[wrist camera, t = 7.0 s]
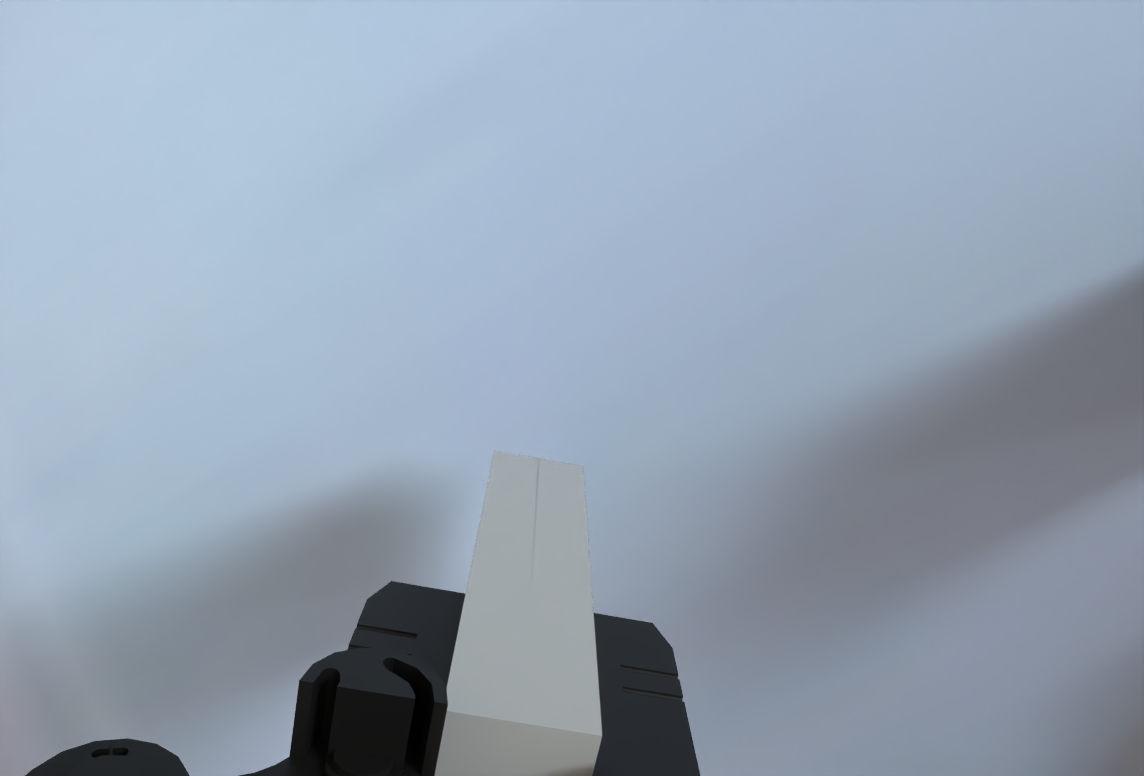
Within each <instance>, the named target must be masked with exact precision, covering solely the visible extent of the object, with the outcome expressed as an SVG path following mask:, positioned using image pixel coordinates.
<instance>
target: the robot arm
mask: <svg viewBox="0 0 1144 776" xmlns="http://www.w3.org/2000/svg"><path fill="white" fill-rule="evenodd" d="M682 698H683V694H682V690H681V685H680V681H679V680H678V671H677V667H676V662H675V658H674V653H673V649H672V647H671V646H670V644H669V643H668V642H667V641H666V639H665V638H664V637H663V636H662V634H661V633H660V632H659V631H658V629H657V628H656V627H655V626H654V624H653V623H649V622H643V621H637V620H631V619H625V618H620V617H614V616H608V615H602V614H596V613H594V612H593V598H592V584H591V570H590V556H589V542H588V528H587V514H586V499H585V485H584V471H583V467H582V466H577V465H572V464H566V463H561V462H555V461H550V460H544V459H539V458H534V457H528V456H523V455H517V454H512V453H506V452H501V451H496V450H494V454H493V459H492V464H491V469H490V474H489V479H488V484H487V489H486V494H485V499H484V504H483V509H482V514H481V519H480V524H479V529H478V534H477V539H476V544H475V549H474V554H473V559H472V564H471V569H470V574H469V579H468V584H467V589H466V594H463V593H457V592H452V591H446V590H440V589H434V588H428V587H422V586H417V585H411V584H405V583H399V582H393V581H391V582H390V583H388V584H387V585H386V586H384V587H383V588H382V589H380V590H379V591H378V592H376V593H375V594H374V595H372V596H371V597H370V598H368V599H367V601H366V604H365V606H364V609H363V611H362V614H361V616H360V619H359V621H358V624H357V628H356V629H355V631H354V633H353V636H352V638H351V641H350V643H349V647H348V650H346V651H341V652H336V653H333V654H331V655H329V656H327V657H326V658H324V659H322V660H320V661H318V662H316V663H314V664H313V665H312V666H311V667H310V668H309V670H308V671H307V672H306V673H305V674H304V676H303V677H302V678H301V679H300V680H299V688H298V696H297V703H296V711H295V719H294V727H293V734H292V742H291V750H290V757H288V758H286V759H285V760H283V761H281V762H280V763H278V764H276V765H274V766H271V767H269V768H266V769H263V770H260V771H258V772H255V773H251V774H245V775H240V776H700V773H699V768H698V763H697V759H696V754H695V750H694V745H693V740H692V736H691V731H690V727H689V722H688V717H687V713H686V708H685V704H684V702H682ZM25 776H189V774H188V772H187V771H186V769H185V767H184V766H183V764H182V762H181V761H180V759H179V757H178V756H176V755H175V754H173V753H171V752H169V751H168V750H166V749H164V748H163V747H161V746H159V745H158V744H154V743H149V742H143V741H138V740H133V739H117V740H104V741H94V742H91V743H88V744H85V745H82V746H78V747H75V748H72V749H69V750H66V751H63V752H61V753H59V754H57V755H56V756H54V757H52V758H51V759H49V760H47V761H46V762H44V763H43V764H41V765H39V766H38V767H36V768H34V769H33V770H31V771H30V772H29V773H28V774H27V775H25Z"/></svg>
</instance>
